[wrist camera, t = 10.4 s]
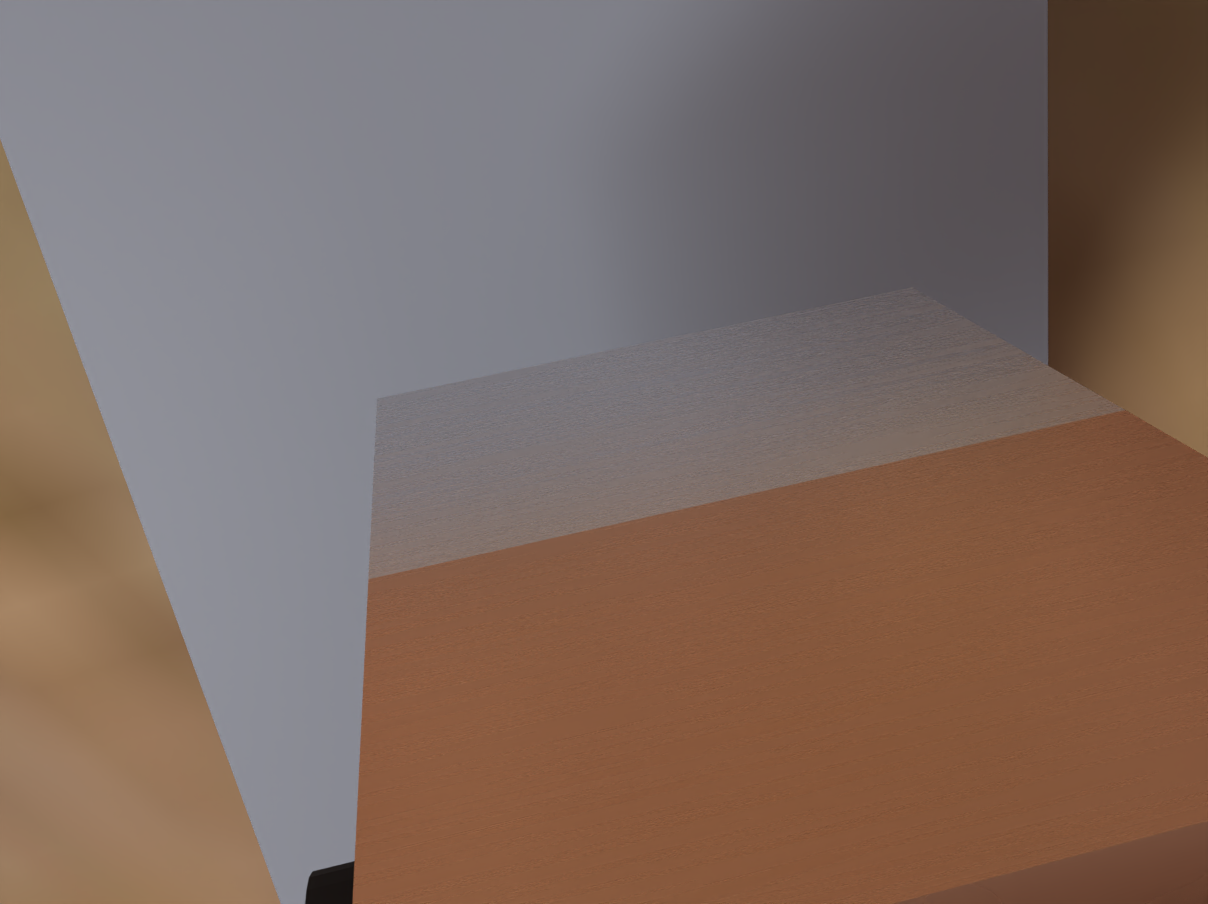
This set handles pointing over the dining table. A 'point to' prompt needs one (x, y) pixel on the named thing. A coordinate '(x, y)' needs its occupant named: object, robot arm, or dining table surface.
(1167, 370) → the dining table surface
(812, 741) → the block
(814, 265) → the stand
